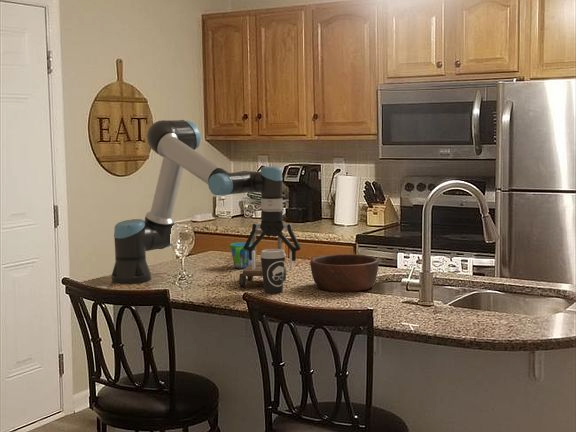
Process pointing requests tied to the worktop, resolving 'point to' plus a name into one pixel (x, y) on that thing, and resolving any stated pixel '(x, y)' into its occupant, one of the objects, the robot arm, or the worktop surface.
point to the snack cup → (240, 255)
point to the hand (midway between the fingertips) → (272, 269)
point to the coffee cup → (273, 270)
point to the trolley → (258, 266)
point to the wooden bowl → (344, 272)
